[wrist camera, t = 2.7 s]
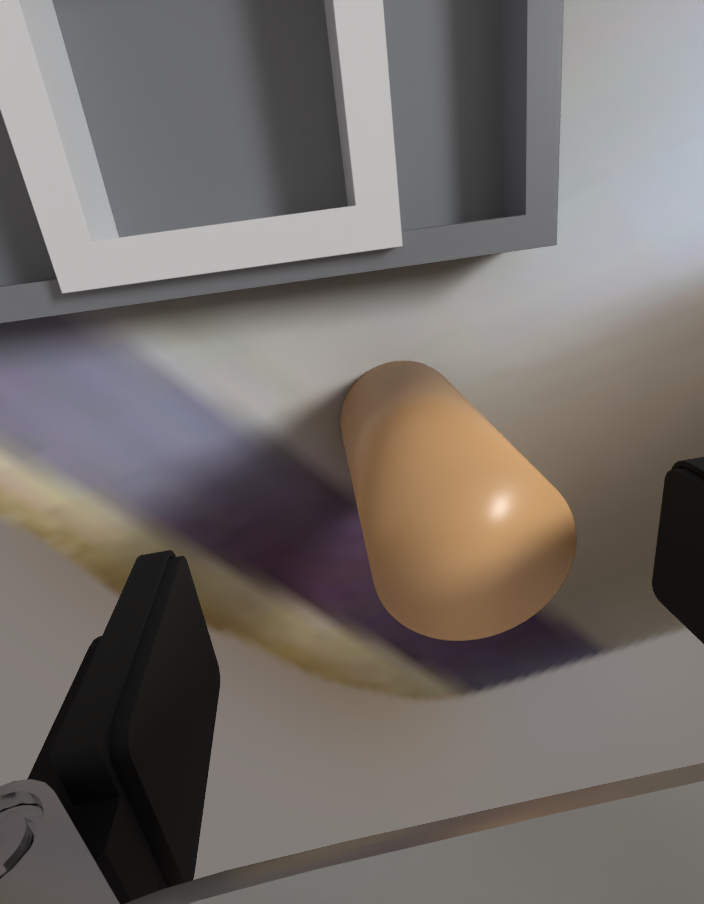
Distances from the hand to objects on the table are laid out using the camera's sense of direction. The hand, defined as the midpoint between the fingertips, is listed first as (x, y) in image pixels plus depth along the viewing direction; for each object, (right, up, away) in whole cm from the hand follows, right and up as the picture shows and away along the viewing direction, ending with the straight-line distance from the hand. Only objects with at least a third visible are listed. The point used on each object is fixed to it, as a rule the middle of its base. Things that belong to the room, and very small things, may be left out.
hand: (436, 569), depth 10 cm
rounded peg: (0, +3, +7) cm, 8 cm away
